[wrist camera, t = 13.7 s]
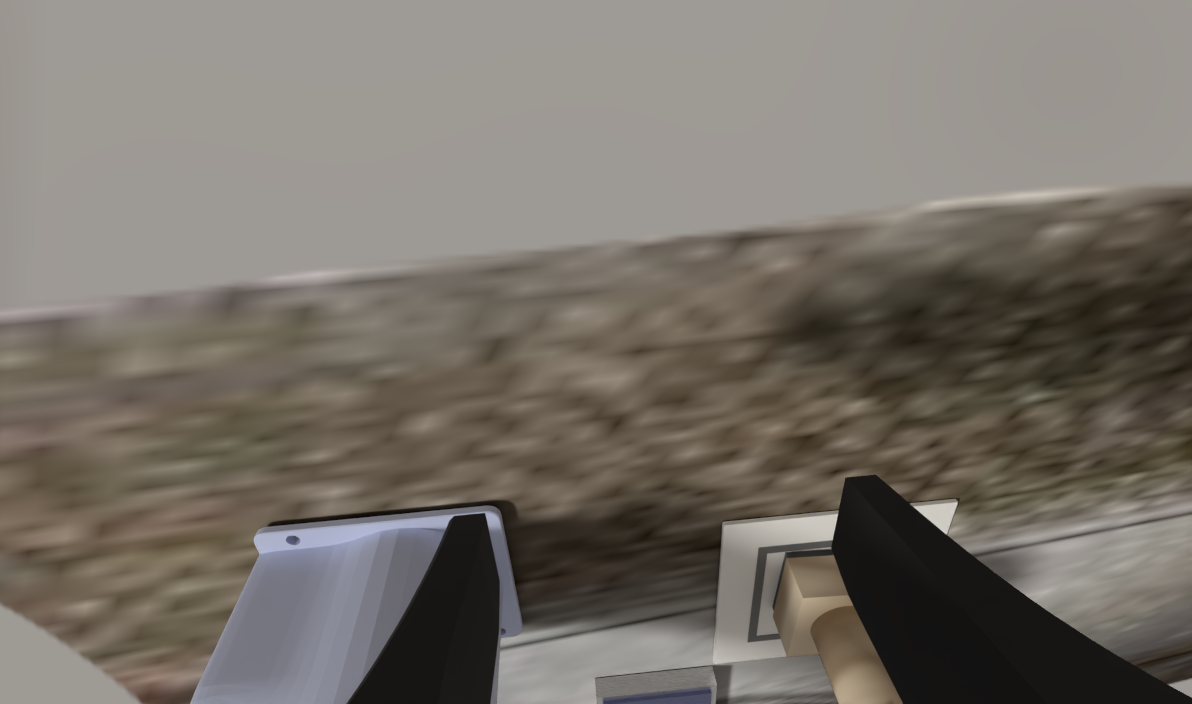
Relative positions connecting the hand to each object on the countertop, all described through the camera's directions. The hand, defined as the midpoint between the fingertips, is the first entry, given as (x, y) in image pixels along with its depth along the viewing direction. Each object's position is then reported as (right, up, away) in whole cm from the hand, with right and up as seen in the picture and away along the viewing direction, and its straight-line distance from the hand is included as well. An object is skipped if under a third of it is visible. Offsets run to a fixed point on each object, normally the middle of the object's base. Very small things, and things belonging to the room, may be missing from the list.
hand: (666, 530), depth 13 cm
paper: (+9, -7, +17) cm, 20 cm away
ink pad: (+2, -15, +21) cm, 26 cm away
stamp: (+9, -7, +16) cm, 19 cm away
